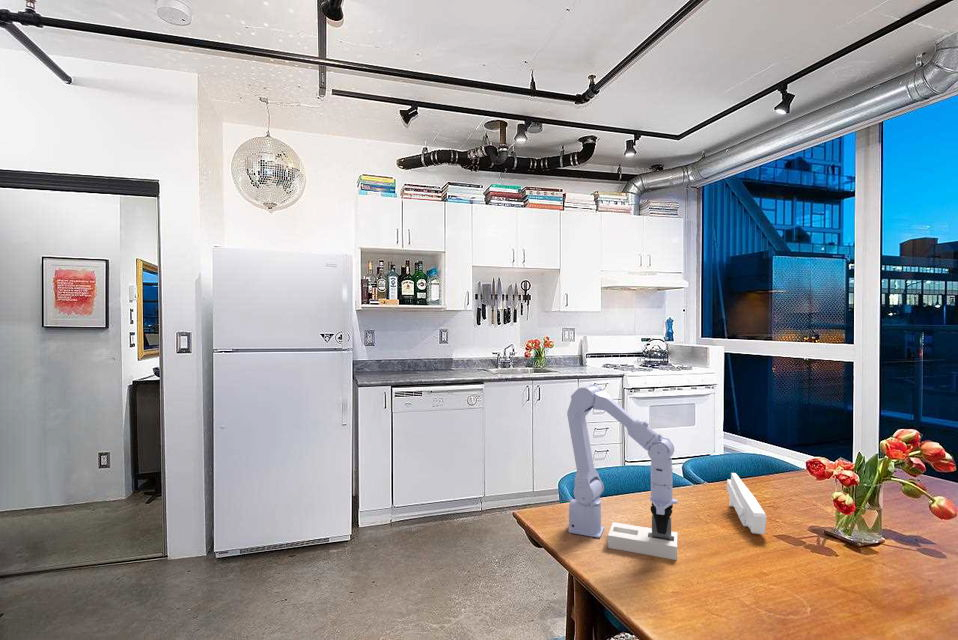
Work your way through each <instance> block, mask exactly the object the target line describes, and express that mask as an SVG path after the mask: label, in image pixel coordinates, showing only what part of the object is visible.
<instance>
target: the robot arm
mask: <svg viewBox="0 0 958 640" xmlns="http://www.w3.org/2000/svg"><path fill="white" fill-rule="evenodd" d="M592 410H598V411H604V412H606V413H607V414H609V415H610V416H611V417H613V419H615V420H616V421H617V422H619V423H620V424H621V425H622V426H624V427H625V428H626V431H627V435H628V436H629V437H630V438H631V439H632V440H634V441H635V442H636V443H637V444H638V445H639V446H640V447H642V448H643V449H644V450H645V451H647V454H648V457H649V458H650V497H649V501H650V502H651V505H650V513H651V514H652V515H653V516H654V519H655V523H656V528H657V532H658V533H659V534H666V531H667V525H668V521H669V518H670V517H671V516H672V514H673V507H674V505H677V504H678V500H677V499H676V498H673V496H674V495H673V494H674V493H673V491H674V490H673V487H674V486H673V484H674V483H673V481H674V480H673V462H672V461H673V458H672V457H673V455H674V452H675V447H674V444H673V442H672V441H671V440H670V439H669V438H668V437H663V435H662V434H661V433H659V434H658V433H657V432H656V431H655V430H654V429H653V428H652V427H650V423H649V422H648V421H647V420H644V421H643V419H634V418H633V417H632V415H631V414H629V412H627V411H626V409H624V408H623V407H622V406H621V405H620V404H619V403H617V402H616V401H615V399H613V398H612V397H611V395H610V394H609V393H608V392H607V391H605V390H603V389H602V388H601V387H600V386H598V385H597V384H590V385H588V386H584V387H579V388H577V389H576V390H575V391H574V392H573V393H572V394H571V396H570V403H569V406H568V409H567V412H566V414H567V421H568V427H569V431H570V438H571V445H572V449H573V450H572V451H573V456H574V457H573V458H574V461H575V468H576V473H575V476H574V481H573V482H574V488H573V496H574V499H570V501H569V508H568V533H570V534H574V535H575V534H576V535H582V536H585V537H592V538H598V539H600V538H601V536H602V535H603V534H602V533H603V532H604V530H605V526H603V525H602V500H601V499H602V498H601V495H602V494H603V493H604V490H605V487H604V483H603V481H602V479H601V478H600V475H599V471H597V469H596V468H595V463H594V459H593V454H592V448H591V443H590V437H589V431H588V426H587V425H588V424H587V419H586V417H587V415H588V414H589V412H591V411H592Z"/></svg>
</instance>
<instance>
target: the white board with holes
mask: <svg viewBox="0 0 958 640" xmlns="http://www.w3.org/2000/svg"><path fill="white" fill-rule="evenodd" d="M678 537H679V536H678V532H677V531H672V530H671V541H669V540H663V539H657V538H652V527H646V526H640V525H639V526H638V525H633V524H627V523H621V522H616V521H615V522H613V521H612V524H611V526H610V529H609V531H608V534H607V548H608V549H613V550H619V551H624V552H629V553H635V554H641V555H647V556H652V557H657V558H661V559H669V560H675V561H678V548H679V547H678V546H679V545H678V541H679V539H678Z"/></svg>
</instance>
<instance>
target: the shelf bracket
mask: <svg viewBox="0 0 958 640" xmlns="http://www.w3.org/2000/svg"><path fill="white" fill-rule="evenodd" d="M726 491H727V493H728V495H729V503H728V507H731V508H732V507H733V508H734V509H735V511H736V513H737V516H738V519H739V521H740V522H741V524H742V526H743V527H748V529H749V530H750V532H751V533H752V534H756V535H757V534H758V535H766V529H767V527H766V526H767V514H766V511H764V509H763V508H762V506H761V504H760V503H759V502H758V500H757V498H756V497H755V496H754V494H753V493H752V492H751V491H750V489H749V488H748V487H747V485H746V484H745V483H744V482H743V481H742V479H741V478H740V476H739V475H738V474H737V473H736V472H731V473H730V479H728V478H727V480H726Z"/></svg>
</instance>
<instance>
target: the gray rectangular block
mask: <svg viewBox="0 0 958 640" xmlns="http://www.w3.org/2000/svg"><path fill="white" fill-rule="evenodd" d="M651 528H652V538H657V539H663V540H669V541H671V531H672V517H671V516H670V518H669V521H668V525H667V531H666V534H659V533H658V532H657V528H656V523H655V519H654V516H653V514H652V515H651Z"/></svg>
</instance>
